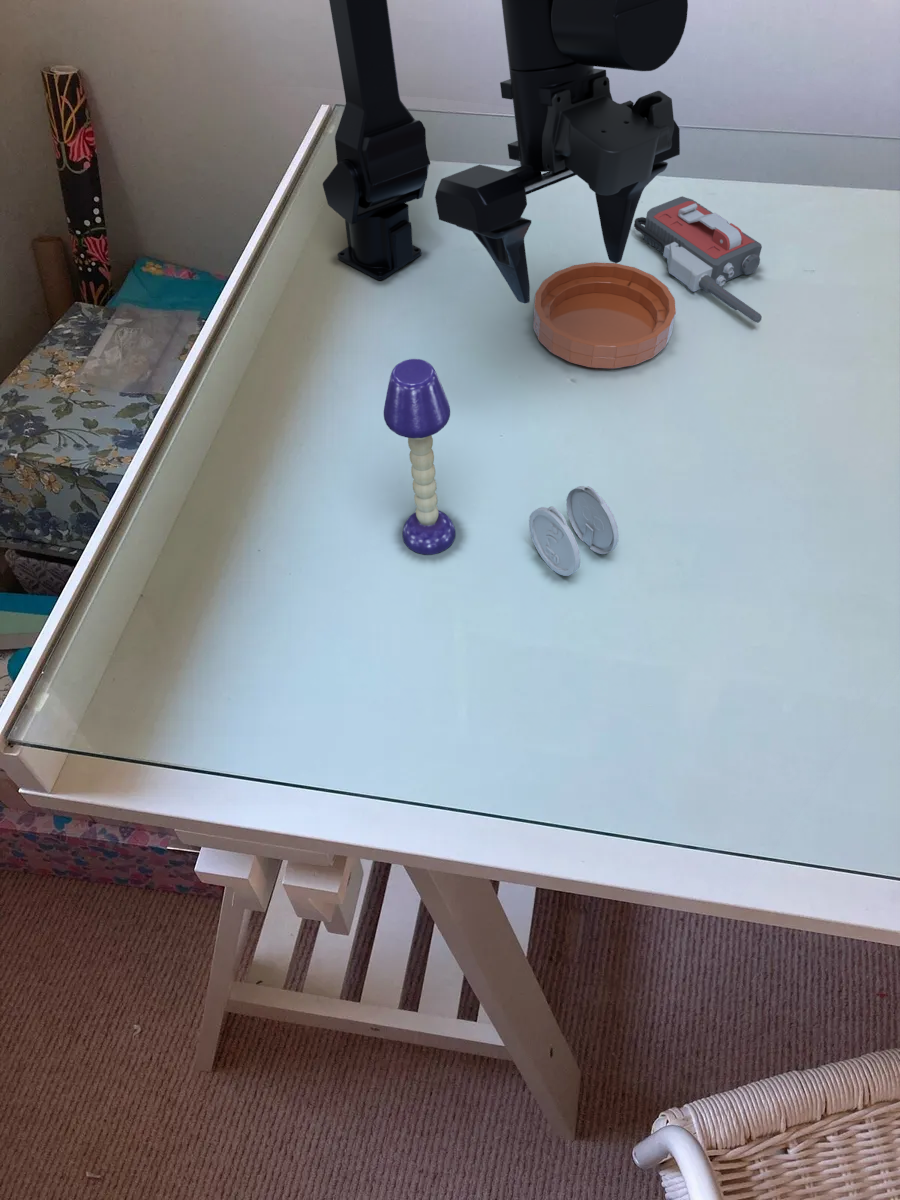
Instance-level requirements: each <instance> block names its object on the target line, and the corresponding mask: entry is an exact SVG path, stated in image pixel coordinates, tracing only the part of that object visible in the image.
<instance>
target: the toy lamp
mask: <svg viewBox="0 0 900 1200" xmlns="http://www.w3.org/2000/svg"><path fill="white" fill-rule="evenodd" d="M450 417H451V405H450V403H449V400H448V397H447V395H446V392H445V390H444V387H443V386H442V383H441V381H440V378H439V375H438V373H437V371H436V369H435V367H434V366H433V365H432V364H431V363H430V362H428V361H427V360H424V359H420V358H409V359H405V360H402V361H400V362H399V363H398V364H396V365H395V366H394V367H393V368H392V370H391V373H390V376H389V380H388V384H387V390H386V396H385V401H384V406H383V420H384V422H385V425H386V427H388V429H389V430H390V431H391V432H393V433H394V434H396V435H398V436H399V437H403V438H406V439H407V445H408V448H409V462H410V464H411V467H410V474H411V477H412V479H413V480H412V490H413V493H414V497H413V498H414V499H413V500H414V505H415V507H416V508H415V511H414V512H413V513H412V514H411V515H410V516H408V518H407V519H406V521H405V523H404V524H403V528H402V540H403V543H404V544H405V546H406V547H407V548H408V549H409V550H411V551H413V552H414V553H417V554H420V555H435V554H439V553H443V552H445V551H446V550H447V549H448V548H450V547H451V545H453V543H454V541H455V539H456V529H455V528H456V527H455V525H454V523H453V522H454V521H452V519H451V518H450V517H449V515H447V514H446V513H444V512H443V511H441V510H439V507H438V506H437V505H438V494H437V493H436V491H437V481H436V478H435V477H436V467H435V465H434V462H435V454H434V450H433V446H434V439H433V435H435V434H437V433H438V432H440V431H442V429H444V428H445V427H446V426H447V425H448V423H449V420H450Z"/></svg>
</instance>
